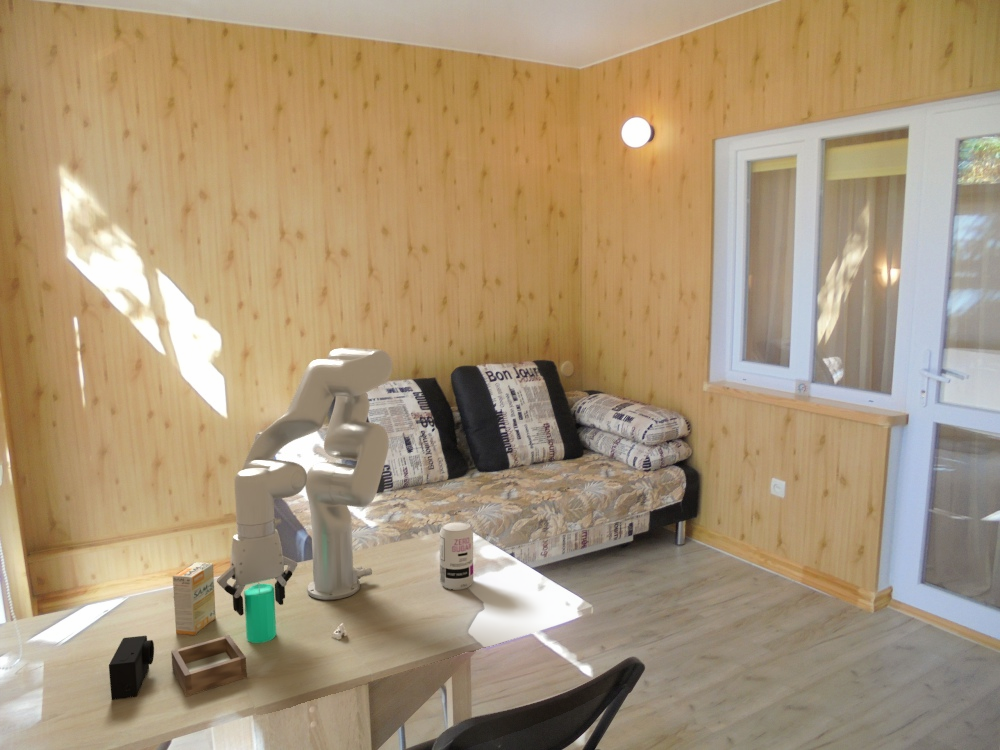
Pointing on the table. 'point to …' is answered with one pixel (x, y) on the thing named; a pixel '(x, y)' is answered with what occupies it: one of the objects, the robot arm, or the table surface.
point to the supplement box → (194, 598)
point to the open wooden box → (208, 665)
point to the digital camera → (130, 666)
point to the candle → (260, 613)
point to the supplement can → (456, 555)
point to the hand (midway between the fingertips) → (259, 607)
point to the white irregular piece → (339, 632)
